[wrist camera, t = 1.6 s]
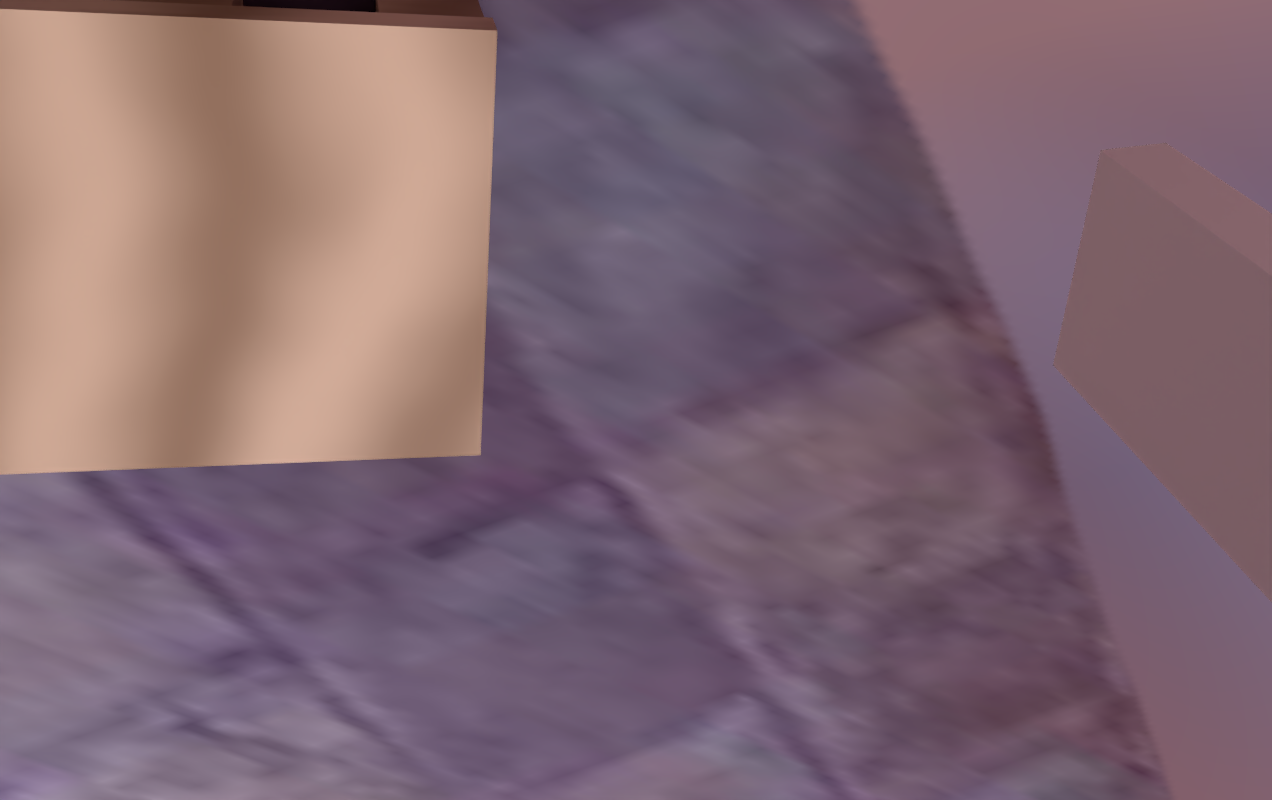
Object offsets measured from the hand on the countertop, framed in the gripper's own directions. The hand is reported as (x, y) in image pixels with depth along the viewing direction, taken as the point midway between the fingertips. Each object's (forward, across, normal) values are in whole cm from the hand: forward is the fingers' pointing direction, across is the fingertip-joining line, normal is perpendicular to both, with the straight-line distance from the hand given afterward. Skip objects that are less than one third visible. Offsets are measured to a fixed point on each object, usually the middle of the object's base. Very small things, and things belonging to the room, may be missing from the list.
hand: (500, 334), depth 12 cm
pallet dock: (+20, -6, -7) cm, 22 cm away
